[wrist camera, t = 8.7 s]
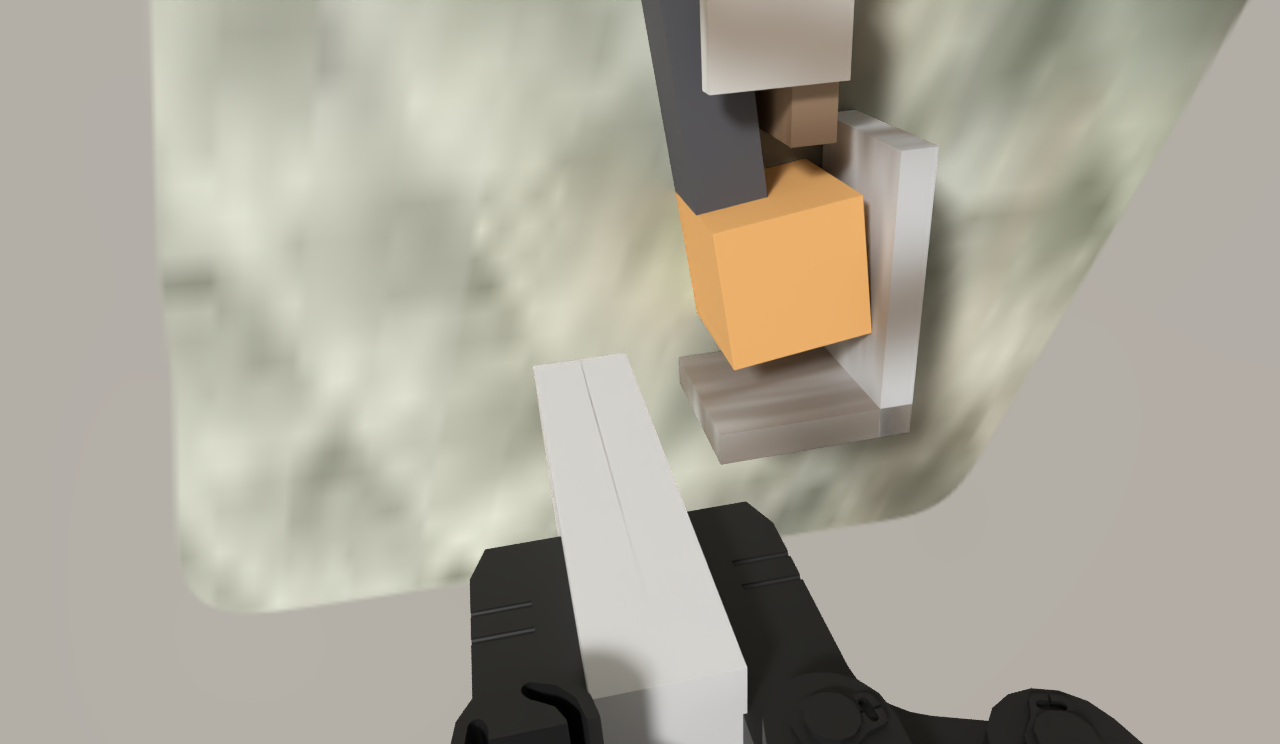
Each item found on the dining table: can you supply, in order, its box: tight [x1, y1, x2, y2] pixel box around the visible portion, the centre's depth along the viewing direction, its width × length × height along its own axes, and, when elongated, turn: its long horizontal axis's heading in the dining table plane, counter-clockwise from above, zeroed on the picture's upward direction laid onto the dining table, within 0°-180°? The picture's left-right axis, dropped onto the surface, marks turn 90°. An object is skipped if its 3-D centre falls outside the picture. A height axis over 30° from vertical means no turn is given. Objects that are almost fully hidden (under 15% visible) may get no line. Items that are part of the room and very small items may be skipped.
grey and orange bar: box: [641, 0, 872, 370], centre depth 26 cm, size 19×5×5 cm, turn 12°
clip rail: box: [679, 0, 939, 465], centre depth 27 cm, size 22×7×6 cm, turn 4°
